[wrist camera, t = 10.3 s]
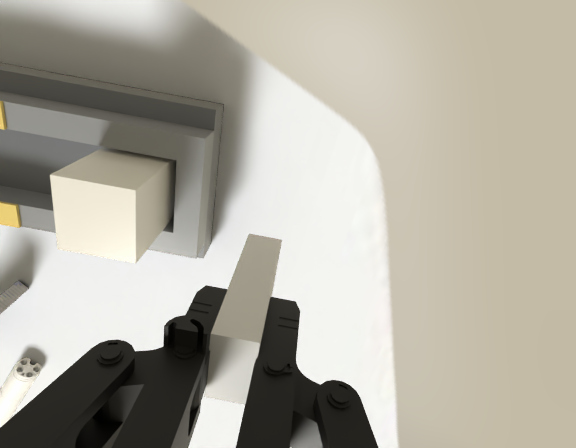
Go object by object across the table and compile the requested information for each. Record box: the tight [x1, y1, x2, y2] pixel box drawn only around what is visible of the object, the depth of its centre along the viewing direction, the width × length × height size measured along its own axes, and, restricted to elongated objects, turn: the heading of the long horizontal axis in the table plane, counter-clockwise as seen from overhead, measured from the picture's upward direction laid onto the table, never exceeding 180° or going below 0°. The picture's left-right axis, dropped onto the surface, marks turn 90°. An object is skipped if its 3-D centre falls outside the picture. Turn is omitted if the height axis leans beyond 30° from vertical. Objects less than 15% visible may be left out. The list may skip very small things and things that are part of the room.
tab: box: [50, 147, 177, 263], centre depth 22 cm, size 4×4×6 cm
